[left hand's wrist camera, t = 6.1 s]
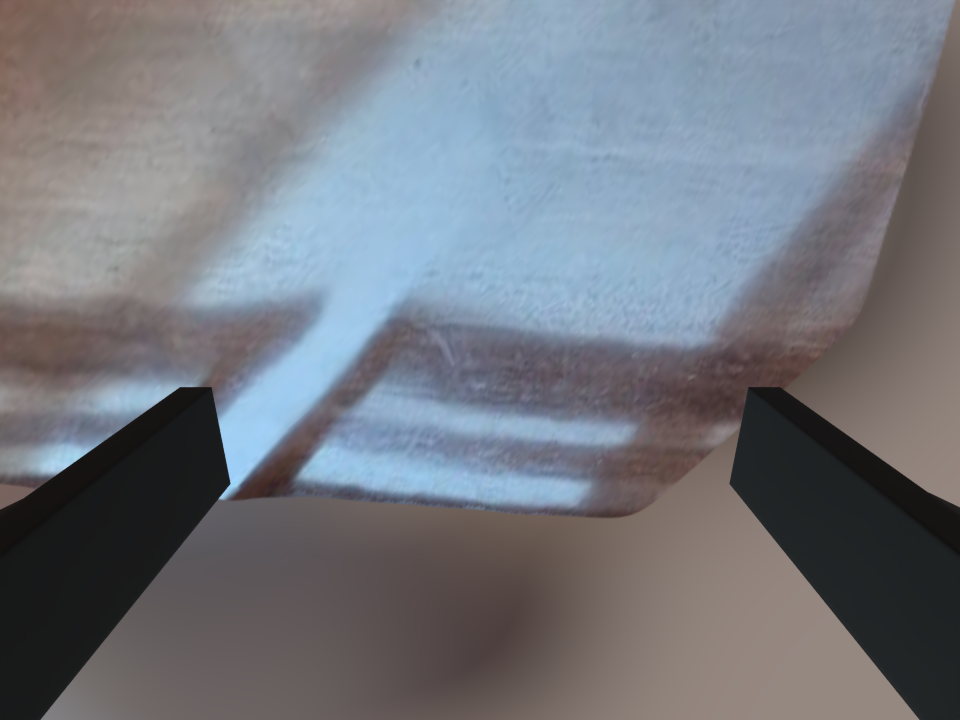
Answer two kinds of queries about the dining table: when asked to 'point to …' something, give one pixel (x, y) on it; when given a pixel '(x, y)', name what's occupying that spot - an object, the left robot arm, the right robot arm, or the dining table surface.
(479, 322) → the dining table surface
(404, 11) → the dining table surface
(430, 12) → the dining table surface
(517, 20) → the dining table surface
